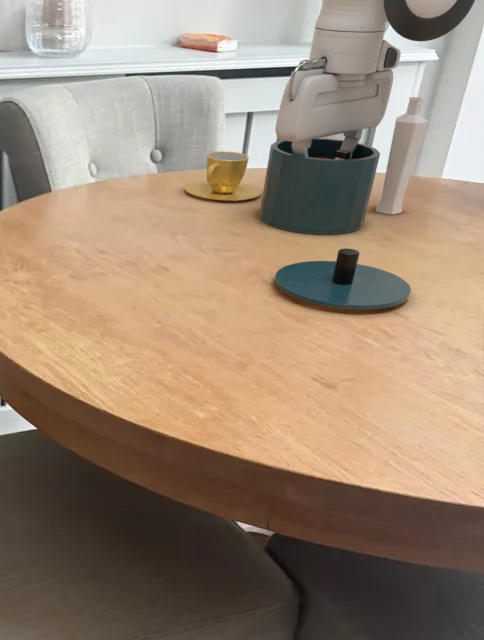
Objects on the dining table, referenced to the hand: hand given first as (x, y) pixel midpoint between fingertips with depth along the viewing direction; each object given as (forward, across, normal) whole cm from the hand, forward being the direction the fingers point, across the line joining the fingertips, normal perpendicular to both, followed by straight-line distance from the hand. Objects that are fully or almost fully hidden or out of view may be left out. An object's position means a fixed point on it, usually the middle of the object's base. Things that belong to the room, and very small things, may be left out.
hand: (321, 169), depth 123 cm
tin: (+7, 0, 0) cm, 7 cm away
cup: (+7, +1, +18) cm, 20 cm away
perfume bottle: (+7, +14, -4) cm, 16 cm away
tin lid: (+6, -22, -21) cm, 31 cm away
